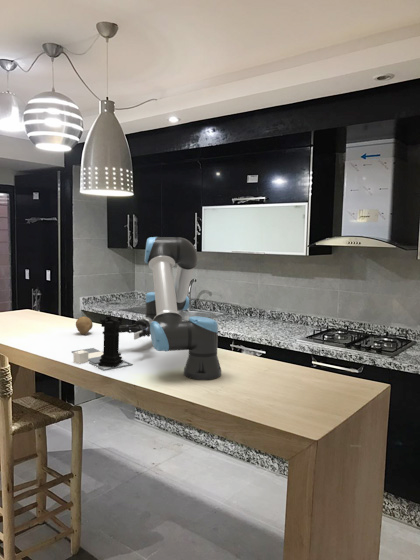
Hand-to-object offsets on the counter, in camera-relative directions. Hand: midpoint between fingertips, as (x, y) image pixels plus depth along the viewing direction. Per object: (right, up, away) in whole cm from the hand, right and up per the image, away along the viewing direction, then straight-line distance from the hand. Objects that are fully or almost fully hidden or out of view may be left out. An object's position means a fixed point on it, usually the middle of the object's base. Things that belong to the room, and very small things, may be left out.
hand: (121, 335), depth 201 cm
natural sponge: (-30, -6, +49) cm, 58 cm away
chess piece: (-3, -12, -7) cm, 14 cm away
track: (-13, -10, +5) cm, 18 cm away
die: (-17, -11, -5) cm, 21 cm away
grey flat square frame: (-3, -12, -7) cm, 14 cm away
